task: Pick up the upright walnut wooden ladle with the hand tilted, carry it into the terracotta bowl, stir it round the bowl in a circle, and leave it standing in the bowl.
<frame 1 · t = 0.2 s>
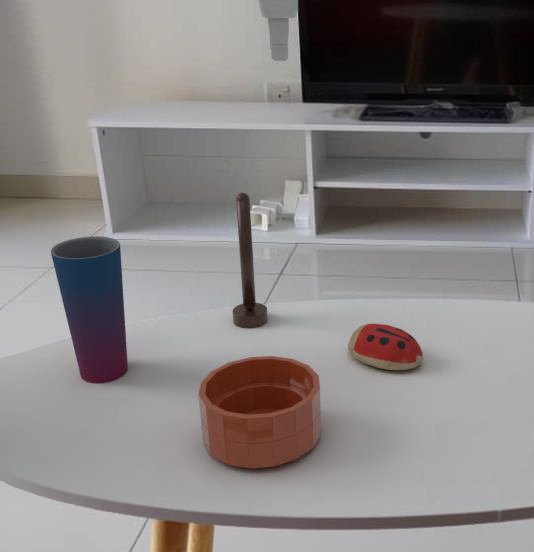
hand: (278, 55, 87), 33 cm above the table, tool pointing down, fingers open, 8 cm apart
cup: (104, 373, 85), on the table
bowl: (263, 437, 73), on the table
ladle: (250, 320, 97), on the table
ladybug figurine: (384, 359, 89), on the table
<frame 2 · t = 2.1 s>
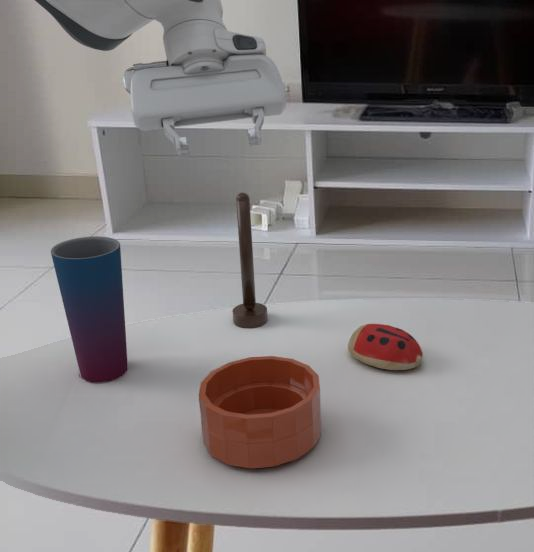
hand: (220, 148, 98), 20 cm above the table, tool tilted 40°, fingers open, 8 cm apart
nothing on the table moved.
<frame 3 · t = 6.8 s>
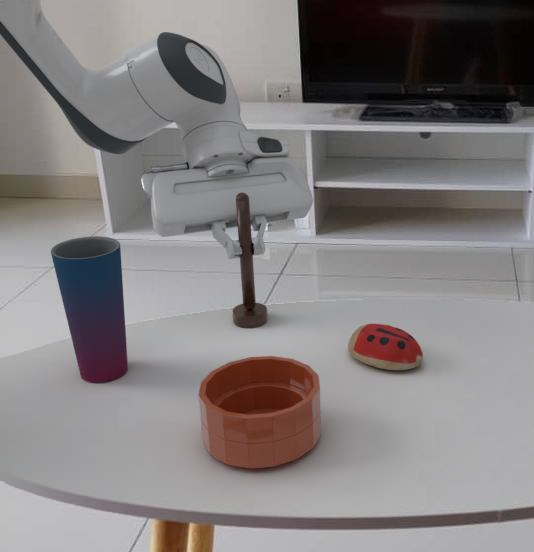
hand: (247, 254, 93), 9 cm above the table, tool tilted 45°, fingers closed on ladle
ladle: (250, 320, 97), on the table, touching gripper
everything else where it was.
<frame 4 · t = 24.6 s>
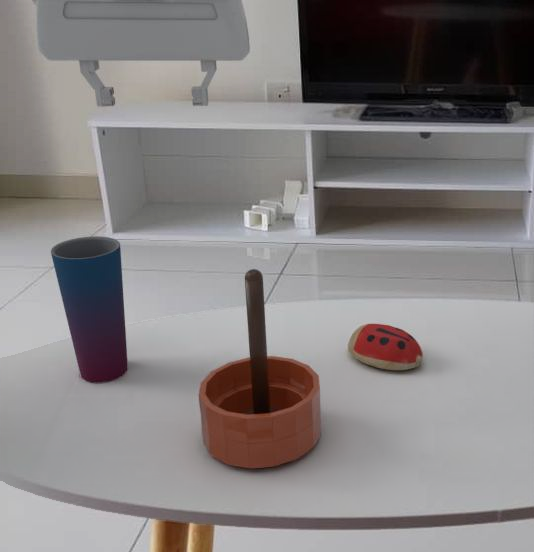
hand: (154, 105, 78), 29 cm above the table, tool pointing down, fingers open, 8 cm apart
ladle: (263, 432, 73), point 1 cm above the table, touching bowl
everything else where it was.
at the end: ladle inside the target area in the bowl (0.0 cm from its centre), point 0.6 cm above the bowl's base; ladle moved 26.6 cm from its start; the gripper is holding nothing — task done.
